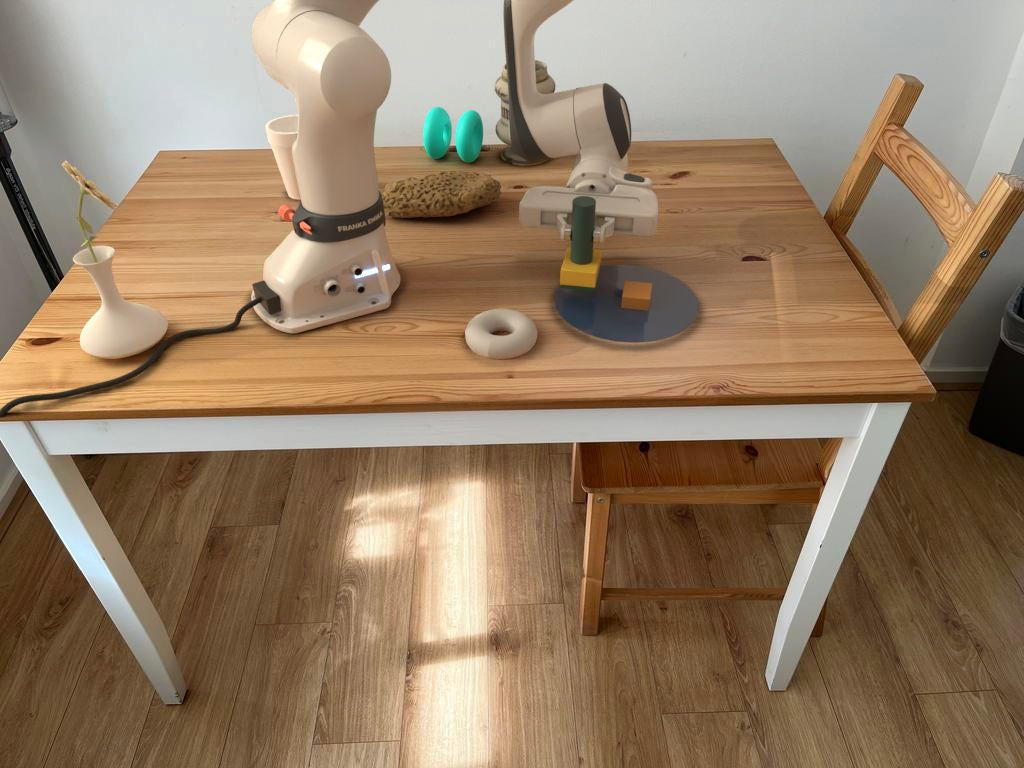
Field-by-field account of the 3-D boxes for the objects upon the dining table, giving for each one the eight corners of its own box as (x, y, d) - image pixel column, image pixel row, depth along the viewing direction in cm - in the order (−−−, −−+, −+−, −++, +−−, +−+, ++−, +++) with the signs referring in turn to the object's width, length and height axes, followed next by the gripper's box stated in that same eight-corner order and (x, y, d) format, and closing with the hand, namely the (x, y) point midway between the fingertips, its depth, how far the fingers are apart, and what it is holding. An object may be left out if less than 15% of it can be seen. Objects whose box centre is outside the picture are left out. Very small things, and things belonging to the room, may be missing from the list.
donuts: (470, 171, 152) (468, 120, 146) (423, 165, 154) (418, 116, 148) (485, 152, 159) (484, 103, 153) (440, 147, 161) (437, 99, 155)
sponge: (385, 233, 134) (495, 216, 130) (373, 188, 131) (485, 169, 127) (405, 212, 146) (507, 196, 141) (395, 171, 142) (499, 153, 138)
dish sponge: (594, 291, 109) (599, 214, 101) (559, 288, 110) (562, 211, 102) (600, 266, 114) (605, 191, 107) (567, 263, 115) (569, 188, 108)
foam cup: (320, 178, 150) (308, 111, 142) (337, 195, 144) (326, 126, 136) (272, 189, 146) (258, 121, 138) (288, 207, 140) (273, 137, 132)
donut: (537, 324, 110) (468, 322, 110) (538, 304, 108) (467, 302, 108) (537, 367, 102) (462, 365, 102) (538, 346, 100) (461, 344, 100)
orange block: (620, 308, 111) (622, 296, 110) (623, 292, 115) (624, 280, 113) (648, 311, 110) (650, 299, 109) (650, 294, 114) (652, 283, 113)
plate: (624, 367, 102) (625, 361, 101) (525, 300, 115) (525, 295, 114) (727, 312, 112) (729, 306, 111) (625, 256, 125) (626, 251, 124)
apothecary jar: (484, 158, 156) (480, 67, 145) (519, 140, 164) (519, 52, 153) (531, 173, 151) (532, 79, 139) (566, 154, 158) (569, 62, 147)
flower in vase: (169, 358, 104) (107, 184, 89) (78, 373, 102) (-2, 197, 86) (173, 307, 114) (118, 143, 99) (91, 320, 112) (20, 154, 96)
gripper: (527, 169, 117) (508, 210, 107) (662, 179, 114) (657, 222, 103) (527, 208, 121) (509, 250, 111) (658, 218, 118) (652, 263, 107)
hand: (582, 237), depth 107 cm, fingers closed on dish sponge, 3 cm apart
